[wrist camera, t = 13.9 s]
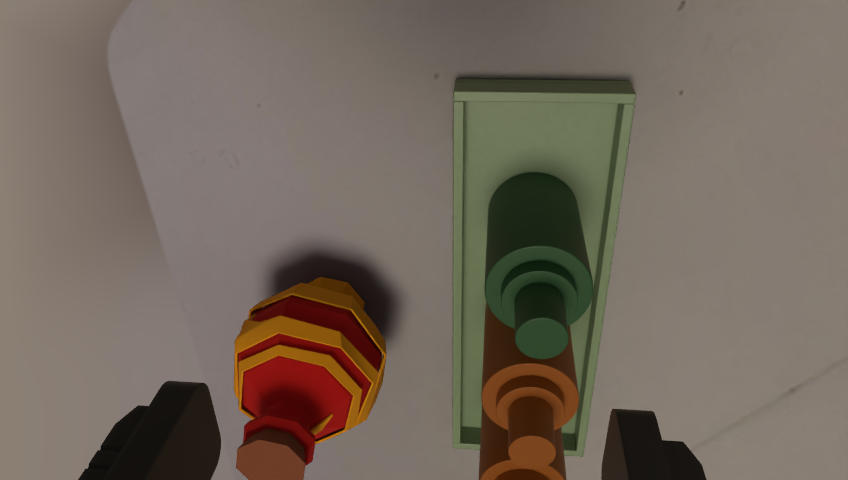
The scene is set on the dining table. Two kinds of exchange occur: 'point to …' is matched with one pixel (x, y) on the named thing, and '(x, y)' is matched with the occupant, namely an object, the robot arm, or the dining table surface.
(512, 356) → the amber bottle mid
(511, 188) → the green bottle
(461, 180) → the tray
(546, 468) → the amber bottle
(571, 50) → the dining table surface
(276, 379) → the potion bottle
